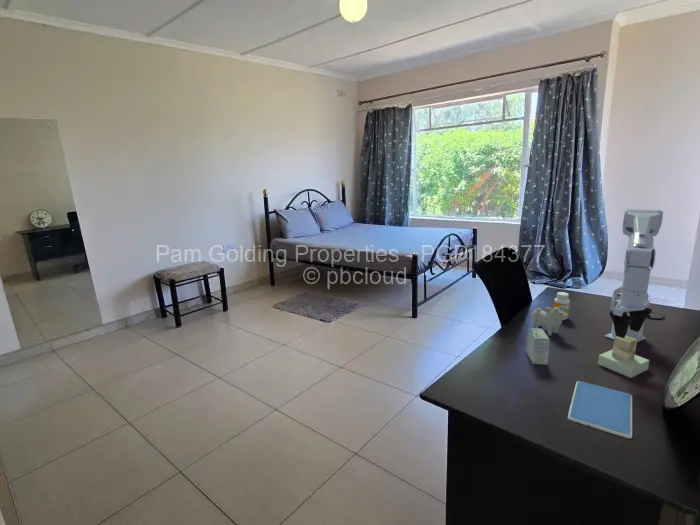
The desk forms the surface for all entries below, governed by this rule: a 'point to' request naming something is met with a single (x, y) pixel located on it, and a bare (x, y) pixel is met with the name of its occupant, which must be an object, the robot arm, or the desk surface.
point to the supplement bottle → (562, 301)
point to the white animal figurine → (549, 318)
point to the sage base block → (624, 364)
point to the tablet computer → (602, 409)
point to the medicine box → (537, 346)
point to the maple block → (624, 348)
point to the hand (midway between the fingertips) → (627, 333)
